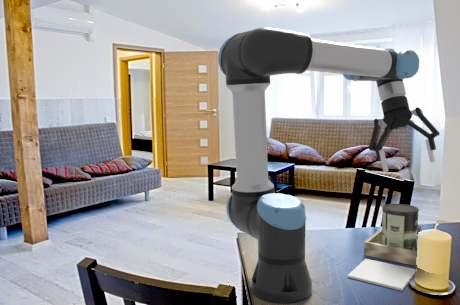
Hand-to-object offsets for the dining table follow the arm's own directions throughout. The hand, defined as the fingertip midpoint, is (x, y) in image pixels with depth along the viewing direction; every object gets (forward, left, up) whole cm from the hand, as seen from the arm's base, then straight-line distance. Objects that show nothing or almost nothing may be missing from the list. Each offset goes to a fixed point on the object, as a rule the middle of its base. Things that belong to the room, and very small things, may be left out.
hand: (408, 166), depth 127 cm
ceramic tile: (-1, -20, -27) cm, 33 cm away
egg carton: (-5, +19, -27) cm, 33 cm away
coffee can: (-2, -1, -27) cm, 27 cm away
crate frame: (-2, -1, -27) cm, 27 cm away
